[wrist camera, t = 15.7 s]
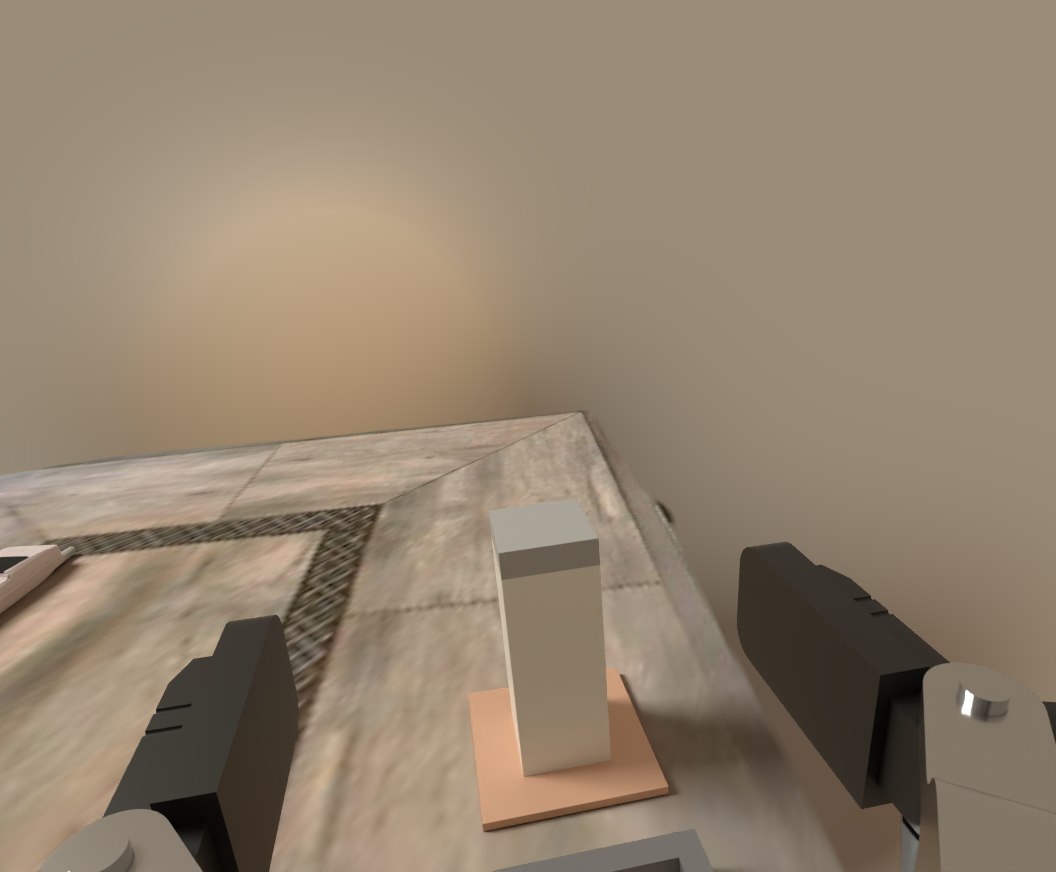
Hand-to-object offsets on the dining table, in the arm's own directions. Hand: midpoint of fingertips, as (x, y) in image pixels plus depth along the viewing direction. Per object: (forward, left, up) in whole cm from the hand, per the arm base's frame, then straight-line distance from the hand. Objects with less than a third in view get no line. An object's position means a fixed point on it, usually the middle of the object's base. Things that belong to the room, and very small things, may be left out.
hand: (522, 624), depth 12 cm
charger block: (+3, +22, -23) cm, 32 cm away
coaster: (+3, +22, -24) cm, 32 cm away
